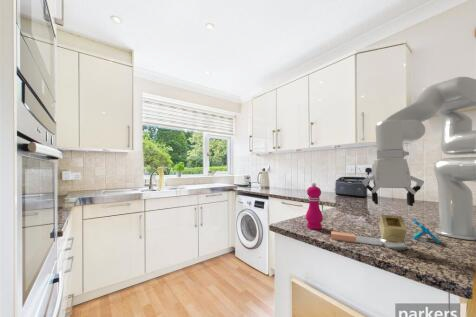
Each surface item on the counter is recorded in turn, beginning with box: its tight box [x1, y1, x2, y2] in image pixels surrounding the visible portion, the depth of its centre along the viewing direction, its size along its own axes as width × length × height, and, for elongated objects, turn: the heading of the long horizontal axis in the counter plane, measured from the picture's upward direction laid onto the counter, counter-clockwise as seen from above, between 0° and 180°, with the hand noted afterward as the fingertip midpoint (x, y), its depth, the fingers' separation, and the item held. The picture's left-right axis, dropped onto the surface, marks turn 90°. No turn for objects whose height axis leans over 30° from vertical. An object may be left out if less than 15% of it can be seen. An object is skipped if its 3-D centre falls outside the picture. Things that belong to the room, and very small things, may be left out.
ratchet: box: [330, 230, 406, 251], centre depth 73 cm, size 22×7×6 cm, turn 66°
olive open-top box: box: [378, 214, 407, 242], centre depth 68 cm, size 6×6×6 cm
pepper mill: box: [305, 182, 324, 231], centre depth 90 cm, size 7×7×20 cm
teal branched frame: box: [412, 218, 441, 244], centre depth 76 cm, size 11×6×10 cm
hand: (392, 204), depth 70 cm, fingers open, 9 cm apart
